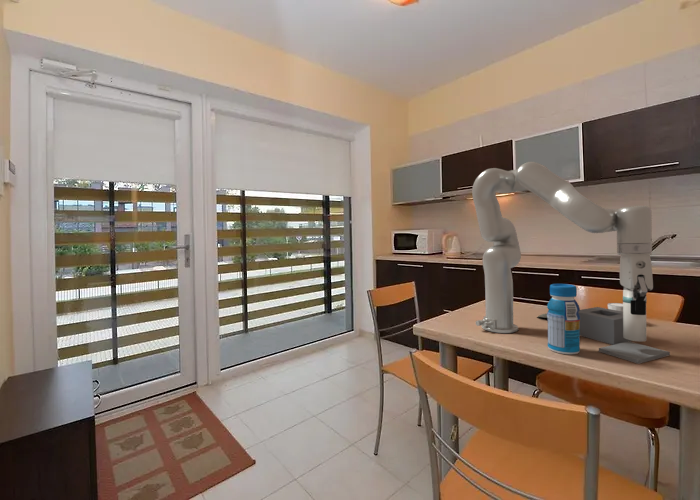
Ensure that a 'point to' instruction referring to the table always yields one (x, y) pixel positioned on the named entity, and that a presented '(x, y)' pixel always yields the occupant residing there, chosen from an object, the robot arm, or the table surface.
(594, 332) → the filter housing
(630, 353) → the rubber mat
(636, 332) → the cylinder
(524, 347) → the table surface
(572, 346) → the beverage bottle
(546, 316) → the soupspoon
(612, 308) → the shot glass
